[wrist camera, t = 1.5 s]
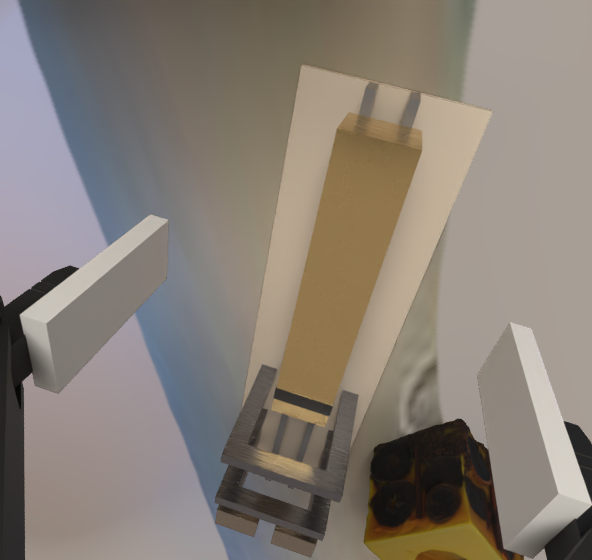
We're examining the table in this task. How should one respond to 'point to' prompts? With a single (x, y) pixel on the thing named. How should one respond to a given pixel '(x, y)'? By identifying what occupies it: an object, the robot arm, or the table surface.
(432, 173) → the long cream board
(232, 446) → the collar
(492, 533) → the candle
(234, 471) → the collar
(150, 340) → the table surface
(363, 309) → the long golden plank
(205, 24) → the table surface
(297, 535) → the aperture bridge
